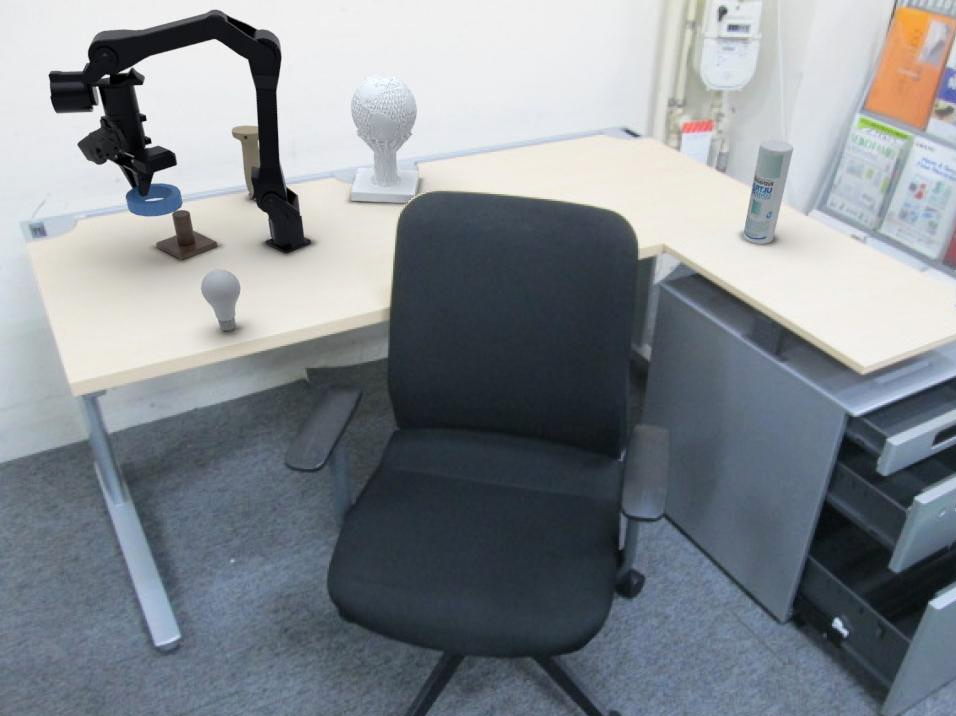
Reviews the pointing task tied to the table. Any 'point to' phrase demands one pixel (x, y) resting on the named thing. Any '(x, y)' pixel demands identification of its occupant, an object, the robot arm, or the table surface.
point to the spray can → (767, 190)
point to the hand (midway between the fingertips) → (141, 194)
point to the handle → (248, 150)
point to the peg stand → (185, 238)
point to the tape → (154, 208)
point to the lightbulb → (222, 296)
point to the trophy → (384, 139)
